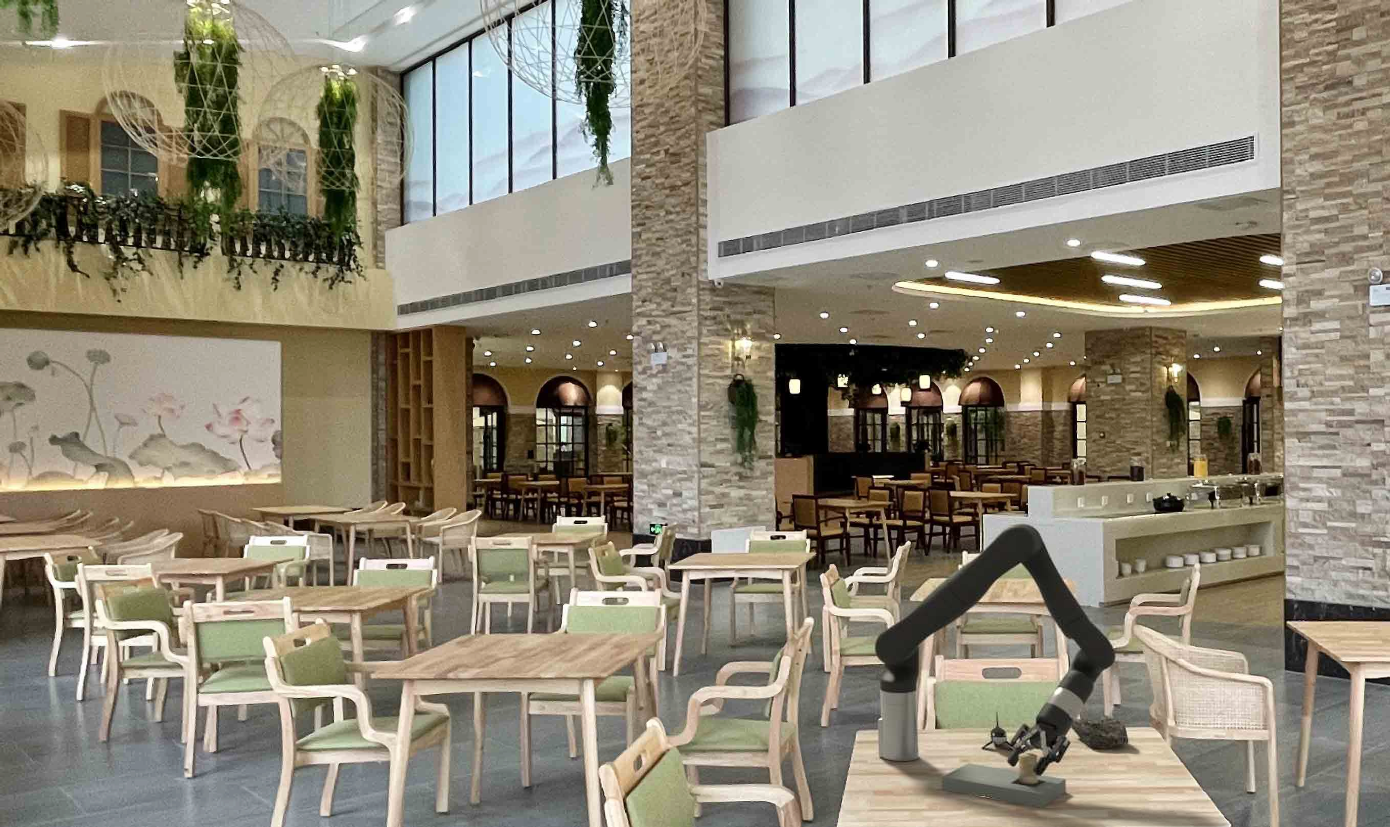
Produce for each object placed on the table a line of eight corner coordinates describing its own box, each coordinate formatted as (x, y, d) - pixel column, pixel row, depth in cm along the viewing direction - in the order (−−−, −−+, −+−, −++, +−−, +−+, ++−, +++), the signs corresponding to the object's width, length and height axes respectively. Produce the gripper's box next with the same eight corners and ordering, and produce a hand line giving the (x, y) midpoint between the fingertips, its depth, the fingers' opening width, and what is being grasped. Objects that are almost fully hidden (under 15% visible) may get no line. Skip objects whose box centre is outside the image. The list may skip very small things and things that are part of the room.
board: (942, 789, 276) (941, 776, 276) (968, 775, 287) (968, 763, 287) (1041, 807, 261) (1041, 794, 261) (1065, 792, 272) (1065, 779, 272)
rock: (1069, 714, 323) (1069, 736, 323) (1089, 727, 307) (1089, 751, 307) (1112, 713, 323) (1113, 735, 323) (1134, 726, 307) (1135, 750, 307)
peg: (1016, 796, 270) (1014, 756, 270) (1023, 791, 273) (1022, 752, 273) (1034, 799, 267) (1033, 758, 267) (1041, 794, 270) (1040, 754, 271)
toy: (1020, 750, 305) (1018, 710, 307) (981, 750, 306) (979, 710, 309) (1014, 750, 325) (1012, 712, 327) (977, 749, 326) (976, 711, 329)
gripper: (1029, 696, 280) (992, 751, 275) (1073, 707, 267) (1035, 766, 262) (1047, 716, 282) (1011, 771, 277) (1091, 728, 270) (1054, 786, 264)
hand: (1023, 768), depth 270 cm, fingers open, 8 cm apart
